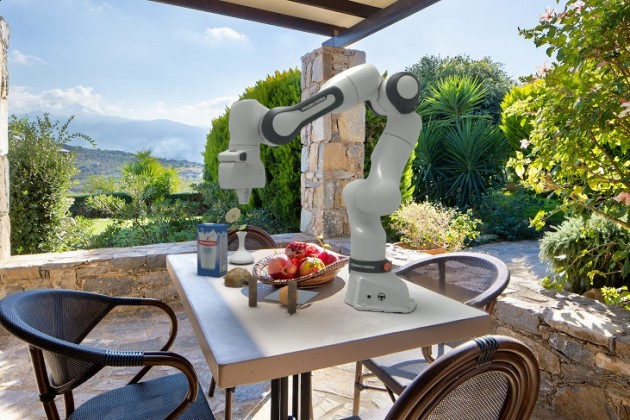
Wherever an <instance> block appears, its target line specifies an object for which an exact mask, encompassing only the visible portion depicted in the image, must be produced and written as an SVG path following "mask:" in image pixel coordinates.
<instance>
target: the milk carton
mask: <svg viewBox="0 0 630 420" xmlns="http://www.w3.org/2000/svg"><path fill="white" fill-rule="evenodd" d="M228 225H229V224H226V223H225V224H224V223H212V222H203V223H198V224H196V266H197V267H196V271H197V272H196V273H197V276H198V277H199V276H200V277H207V276H208V277H209V278H216V277H217V278H218V279H219V278H222V277H224V276H225V275H226V273H228V272H229V271H228V269H229V268H228V267H229V266H228V264H229V262H228V261H229V258H228V257H229V256H228V249H229V248H228V245H229V244H228V242H229V241H228V239H229V238H228V237H229V236H228V235H229V234H228V233H229V230H228V229H229V227H228Z"/></svg>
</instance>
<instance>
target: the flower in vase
mask: <svg viewBox="0 0 630 420" xmlns="http://www.w3.org/2000/svg"><path fill="white" fill-rule="evenodd" d="M240 216H241V208H240V209H239V208H238V207H234V208H233V207H232V208H231V209H229V211H227V212H226V215H225V217H224V218H225V222H227V223H233V222H235V224H236V225H235V224H232V225H231V226H230V227H228V231H229V230H230V231H235V230H237V228H238V231H236V232H235V234H236V235H237V237H238V248H237V250H236V251H235V252H234V253H232V254H231V255H230V256H228V257H229V258H228V261H229V262H230V263H231V264H232V263H233V264H238V265H241V264H243V265H244V264H250V263H252V262H254V261H255V257H254V256H253V255H252V254H251V253H250V252H249V251H248V250H247V249H246V247H245V239H246V236H247V234H248V232H247V231H241V230H245V229H246V228H247V223H245V224H243V225H241V226H239V225H238V223H237V222H238V219H239V218H240Z"/></svg>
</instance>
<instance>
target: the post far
mask: <svg viewBox="0 0 630 420" xmlns="http://www.w3.org/2000/svg"><path fill="white" fill-rule="evenodd" d="M251 275H252V274H251ZM248 307H250V308H256V307H258V275H252V276H249V286H248Z"/></svg>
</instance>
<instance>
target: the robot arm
mask: <svg viewBox="0 0 630 420" xmlns="http://www.w3.org/2000/svg"><path fill="white" fill-rule="evenodd" d="M421 90H422V88H421V83H420V81H419V78H418V77H417V75H415V74H414V73H412V72H409V71H398V72H395V73H393V74H392V75H391V76H389V77H386V78H385V77H383V76H382V75H381V74H380V71H379V69H378V68H377V67H376V66H375V65H373V64H372V63H366V62H365V63H362V64H358V65H355V66H353V67H350V68H347V69H345V70H343V71H340V72H338V73H336V74H335V75H334V76H332V77H331V78H329V79H328V80H327V81H326V82H324V83H323V84H322V85H321V86H320V90H318V92H316V93H315V94H313V95H311V96H309V97H307V98H305V99H303V100H302V101H300V102H298V103H296V104H294V105H289V106H277V107H273V108H268V107H267V106H265V105H263V104H261V103H260V102H259V101H258V100H257V99H256V98H244V99H239V100H238V99H237V100H236V101H234V102H233V103H232V104H231V106H230V108H229V115H228V132H229V142H228V149H226V150H224V151H221V152H219V153H218V154H217V160H218V161H219V162H220V163H219V164H218V169H217V170H218V171H217V173H218V175H217V176H218V178H217V180H218V185H219V187H220V189H222V190H235V192H236V195H237V198H238V205H249V204H250V197H251V194H252V189H257V188H258V189H260V188H261V189H262V188H265V187H266V184H267V182H266V181H267V180H266V178H267V177H266V169H265V168H266V167H265V165H264V164H263V161H262V159H261V158H260V154H261V150H260V147H261V146H260V145H261V144H262V145H267V146H270V147H278V146H279V147H280V146H285V145H288V144H290V143H292V142H293V141H294V140H295V139H296V138H297V137H298V135H299V134H300V132H301V131H302V129H304V128H305V127H307V126H308V125H309V124H311V123H313V122H316V121H317V120H319V119H320V118H322V117H324V116H325V115H328V114H334V115H339V114H341V113H344V112H347V111H349V110H351V109H354V108H356V107H357V106H359V105H360V104H362V103H364V104H365V105H366V106H367V107H368V108H369V111H370V112H371V113H372V114H373V115H375V116H377V117H380V118H386V125H385V127H384V129H383V132H382V133H381V135H380V136H379V138H378V140H377V143H376V145H375V146H374V149H373V151H372V153H371V155H370V162H371V166H370V170H369V173H368V176H367V178H357V179H354V180H353V181H350V182H348V183H347V184H346V185H345V186H344V187H343V190H342V194H341V197H342V201H343V203H344V205H345V207H346V212H347V217H348V223H349V229H350V256H349V257H348V264H347V265H348V269H347V270H348V274H349V275H348V281H347V282H348V284H347V287H346V288H347V289H346V293H345V295H344V299H343V301H344V302H345V303H346V304H348V305H349V306H353V308H354V309H355V310H359V311H368V310H371V312H381V311H384V312H383V313H393V312H403V313H402V314H408V313H407V312H409V313H411V312H410V311H412V310H413V309H414V308H415V307H416V308H417V301H416V300H415V298H412V297H410V292H409V291H410V290H409V286H408V285H407V283H406V281H404V280H403V279H401V278H400V277H399V276H398V275H397V274H396V273H395V272H393V271H392V270H393V269H392V268H393V267H392V266H393V260H389V258H386V256H387V255H386V253H387V233H386V230H385V229H384V227H383V225H382V221H381V217H384V216H389V215H392V214H394V213H395V212H396V211H398V209H400V206H401V203H402V192H401V190H400V185H401V179H402V176H403V173H404V170H405V167H406V165H407V163H408V161H409V158H410V157H411V155H412V152H413V150H414V148H415V147H416V144H417V142H418V139H419V136H420V133H421V130H422V126H423V121H422V118H421V116H420V115H419V114H418V113H417V112H416V110H417V109H418V108H419V105H420V96H421ZM416 308H415V309H416ZM415 309H414V310H415ZM414 310H413V311H414ZM413 311H412V312H413ZM404 312H405V313H404Z"/></svg>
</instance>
